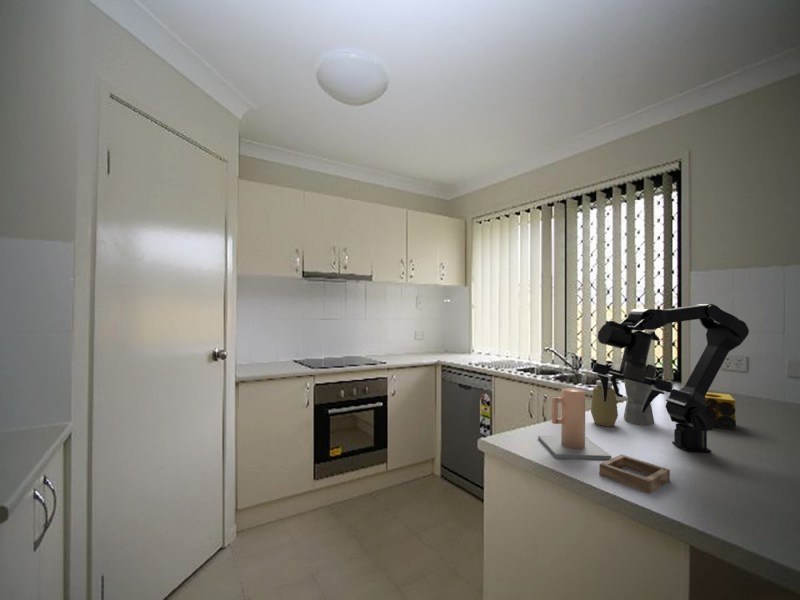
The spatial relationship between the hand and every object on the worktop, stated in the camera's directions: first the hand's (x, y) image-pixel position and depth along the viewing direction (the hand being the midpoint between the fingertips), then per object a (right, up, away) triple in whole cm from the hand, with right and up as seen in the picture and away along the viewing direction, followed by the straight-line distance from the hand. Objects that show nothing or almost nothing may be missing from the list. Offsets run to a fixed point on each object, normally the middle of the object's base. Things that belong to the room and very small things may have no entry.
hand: (623, 407), depth 103 cm
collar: (-8, -11, -18) cm, 22 cm away
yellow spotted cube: (+45, -13, +23) cm, 52 cm away
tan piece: (-15, -10, 0) cm, 19 cm away
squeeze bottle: (+7, -12, +22) cm, 26 cm away
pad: (-14, -11, 0) cm, 18 cm away
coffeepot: (+20, -12, +26) cm, 35 cm away
